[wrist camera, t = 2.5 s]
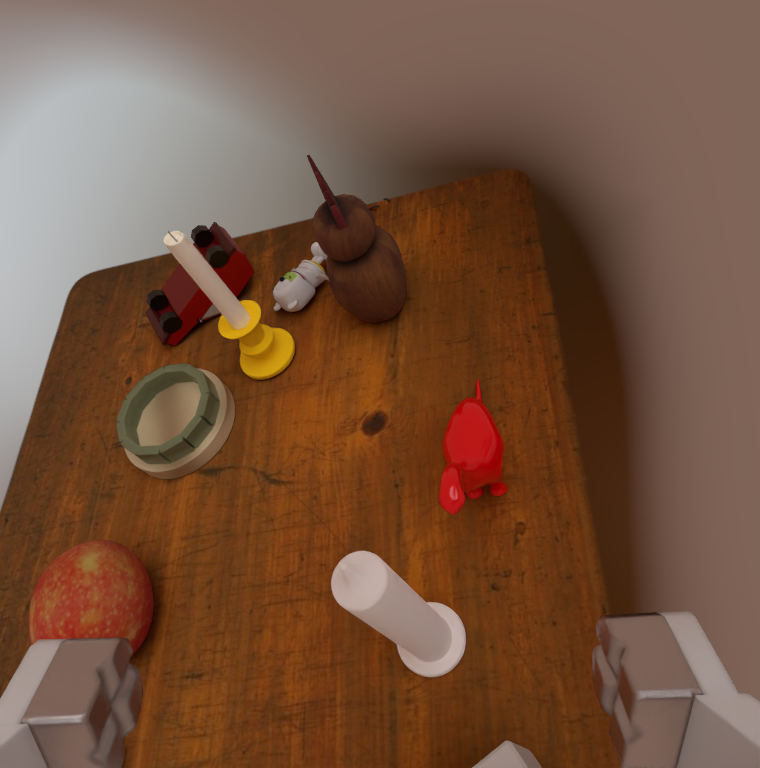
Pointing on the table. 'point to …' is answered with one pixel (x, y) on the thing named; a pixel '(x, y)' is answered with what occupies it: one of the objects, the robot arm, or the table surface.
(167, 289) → the toy truck
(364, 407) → the table surface
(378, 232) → the wooden figurine
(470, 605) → the table surface
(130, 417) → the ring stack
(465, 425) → the dinosaur
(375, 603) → the candle
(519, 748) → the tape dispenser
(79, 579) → the apple
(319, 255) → the toy
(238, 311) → the candle
